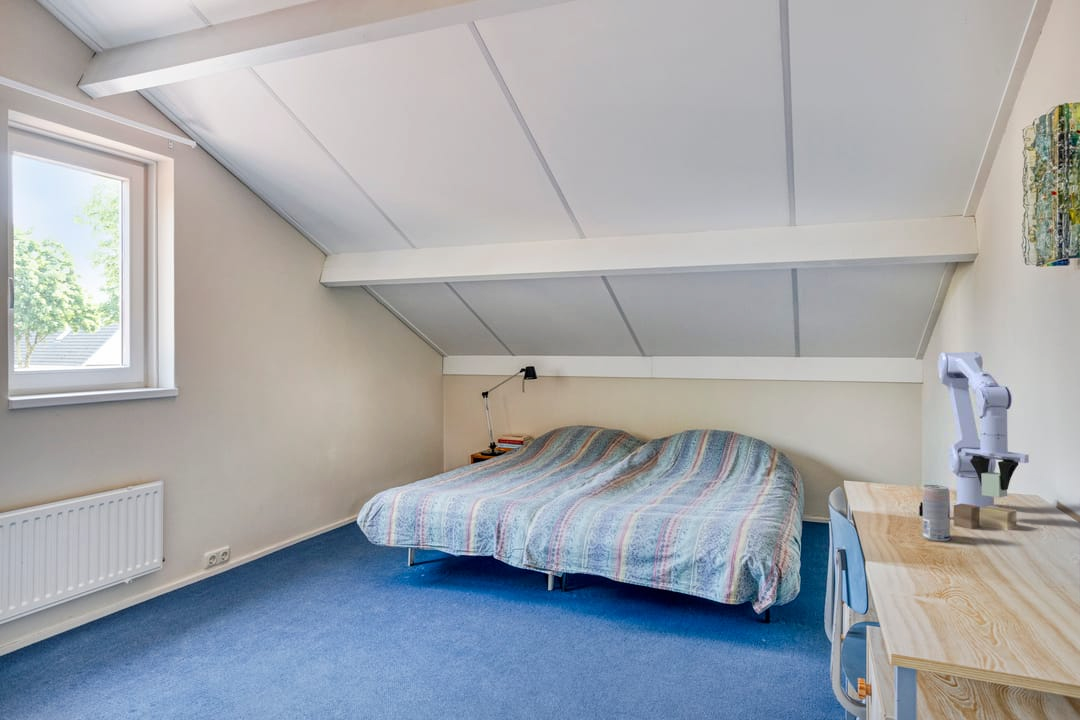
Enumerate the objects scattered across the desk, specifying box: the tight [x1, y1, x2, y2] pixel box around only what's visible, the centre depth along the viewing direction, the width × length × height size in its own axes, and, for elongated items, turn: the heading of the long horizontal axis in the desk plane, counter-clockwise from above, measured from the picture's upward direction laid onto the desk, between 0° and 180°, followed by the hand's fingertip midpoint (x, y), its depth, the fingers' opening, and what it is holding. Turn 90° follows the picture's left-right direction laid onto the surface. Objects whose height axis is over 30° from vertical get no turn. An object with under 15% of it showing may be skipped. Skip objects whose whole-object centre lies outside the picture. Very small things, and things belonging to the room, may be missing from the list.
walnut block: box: [953, 503, 981, 530], centre depth 162 cm, size 4×4×6 cm
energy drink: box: [922, 484, 951, 543], centre depth 153 cm, size 5×5×12 cm
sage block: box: [981, 471, 1008, 498], centre depth 168 cm, size 4×4×6 cm
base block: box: [980, 506, 1018, 531], centre depth 161 cm, size 4×6×4 cm
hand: (994, 487), depth 168 cm, fingers closed on sage block, 4 cm apart
